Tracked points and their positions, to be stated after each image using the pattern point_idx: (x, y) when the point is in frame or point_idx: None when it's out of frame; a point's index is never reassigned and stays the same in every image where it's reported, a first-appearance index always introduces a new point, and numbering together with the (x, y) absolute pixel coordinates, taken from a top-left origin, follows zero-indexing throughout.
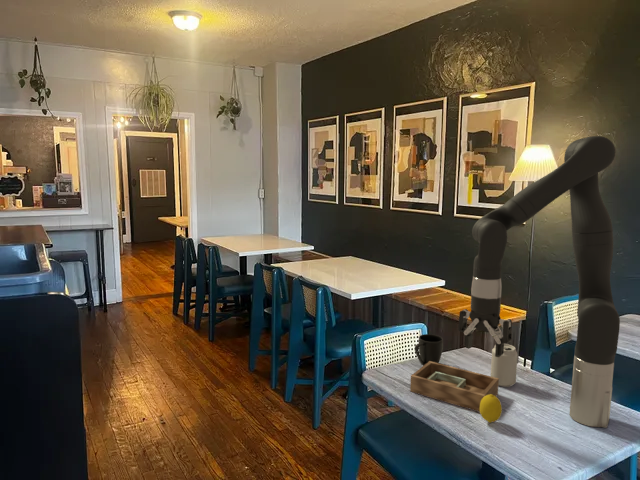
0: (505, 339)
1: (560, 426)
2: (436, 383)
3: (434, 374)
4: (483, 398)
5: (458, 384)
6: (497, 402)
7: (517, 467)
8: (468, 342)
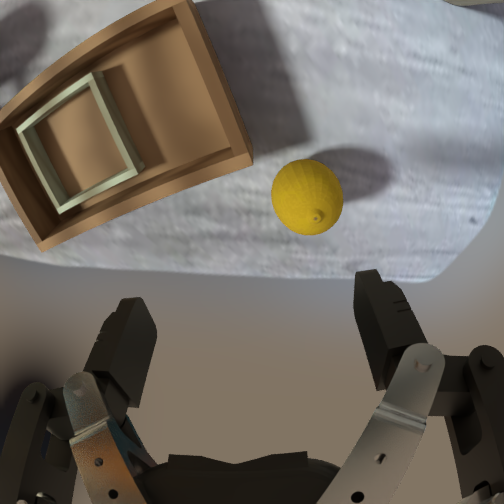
0: (462, 418)
1: (430, 48)
2: (99, 224)
3: (29, 147)
4: (292, 228)
5: (107, 125)
6: (339, 212)
7: (419, 276)
8: (148, 367)
